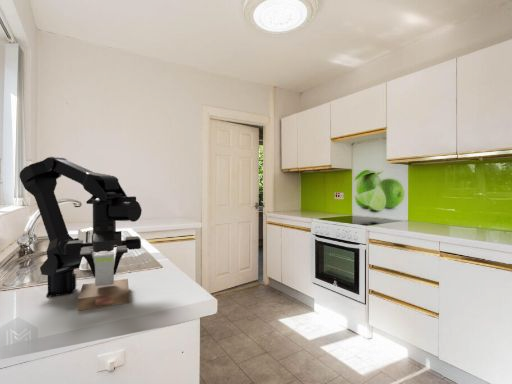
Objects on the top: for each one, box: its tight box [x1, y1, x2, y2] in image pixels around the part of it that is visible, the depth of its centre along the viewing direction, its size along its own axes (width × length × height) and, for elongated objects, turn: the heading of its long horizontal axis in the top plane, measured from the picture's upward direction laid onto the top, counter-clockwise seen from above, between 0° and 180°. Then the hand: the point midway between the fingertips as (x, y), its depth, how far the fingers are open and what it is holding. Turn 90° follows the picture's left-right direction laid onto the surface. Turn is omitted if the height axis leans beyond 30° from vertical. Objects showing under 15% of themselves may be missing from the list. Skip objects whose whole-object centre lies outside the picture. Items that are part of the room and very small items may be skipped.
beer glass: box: [77, 227, 98, 271], centre depth 111 cm, size 7×7×15 cm
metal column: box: [94, 251, 115, 286], centre depth 82 cm, size 4×4×8 cm
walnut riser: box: [77, 278, 130, 311], centre depth 82 cm, size 12×12×3 cm
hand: (104, 275), depth 82 cm, fingers closed on metal column, 4 cm apart
